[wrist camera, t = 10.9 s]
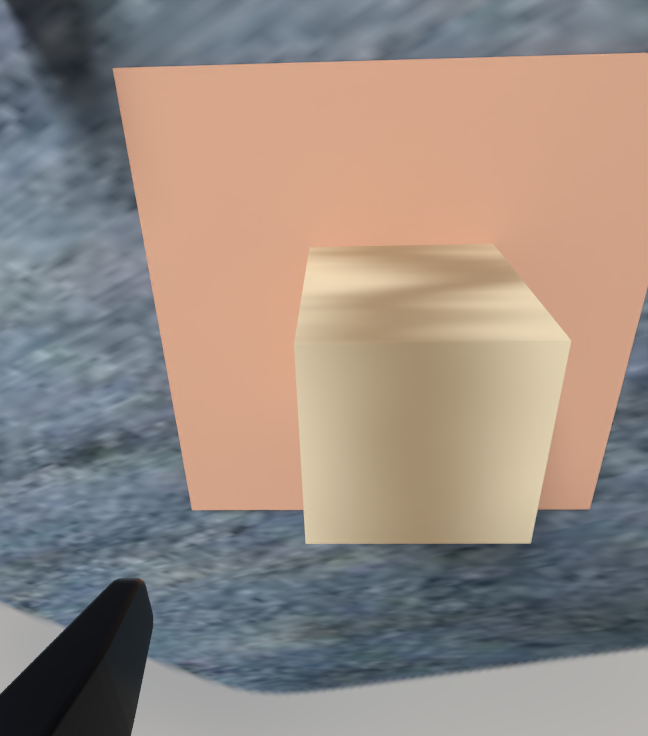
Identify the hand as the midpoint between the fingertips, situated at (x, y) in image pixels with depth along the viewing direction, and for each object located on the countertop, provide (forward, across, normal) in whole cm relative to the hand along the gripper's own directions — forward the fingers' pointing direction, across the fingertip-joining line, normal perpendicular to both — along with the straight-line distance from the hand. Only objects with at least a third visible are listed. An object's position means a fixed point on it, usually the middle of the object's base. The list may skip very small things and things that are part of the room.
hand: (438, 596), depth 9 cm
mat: (+10, 0, 0) cm, 10 cm away
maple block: (+9, 0, 0) cm, 9 cm away
